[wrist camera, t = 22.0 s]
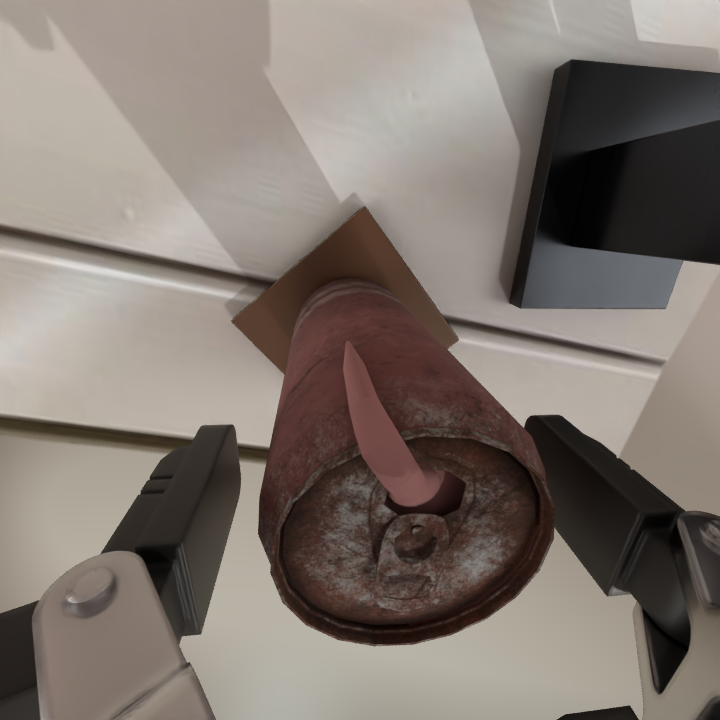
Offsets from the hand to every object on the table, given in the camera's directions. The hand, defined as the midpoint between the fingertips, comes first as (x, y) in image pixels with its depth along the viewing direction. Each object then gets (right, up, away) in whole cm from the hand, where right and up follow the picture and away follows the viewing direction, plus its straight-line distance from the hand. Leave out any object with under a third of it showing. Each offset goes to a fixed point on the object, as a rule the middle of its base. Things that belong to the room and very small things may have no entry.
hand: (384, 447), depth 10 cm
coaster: (-1, +4, +10) cm, 11 cm away
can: (-1, +4, +10) cm, 11 cm away
